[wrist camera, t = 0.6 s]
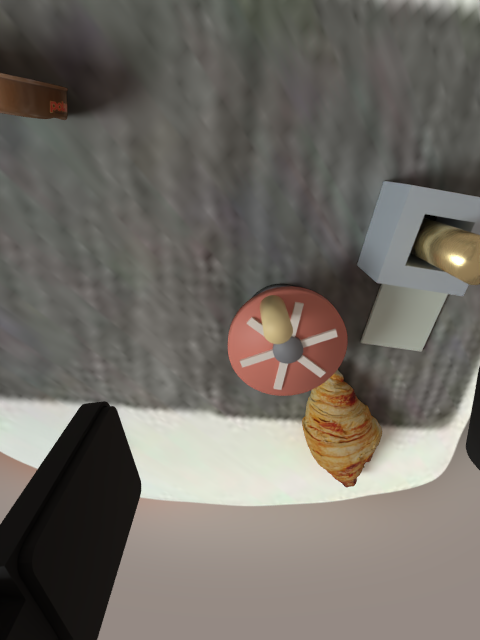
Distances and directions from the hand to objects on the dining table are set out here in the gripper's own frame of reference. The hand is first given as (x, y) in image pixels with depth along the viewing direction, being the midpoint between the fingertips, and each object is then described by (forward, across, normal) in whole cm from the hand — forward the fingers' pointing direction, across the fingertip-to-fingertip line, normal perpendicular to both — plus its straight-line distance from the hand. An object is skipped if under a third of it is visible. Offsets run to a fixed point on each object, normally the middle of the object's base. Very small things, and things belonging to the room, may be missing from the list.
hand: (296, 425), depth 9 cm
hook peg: (+30, -17, +2) cm, 35 cm away
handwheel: (+24, -2, +10) cm, 27 cm away
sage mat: (+31, -17, +12) cm, 37 cm away
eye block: (+30, -17, +2) cm, 35 cm away
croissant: (+32, -10, +28) cm, 43 cm away
